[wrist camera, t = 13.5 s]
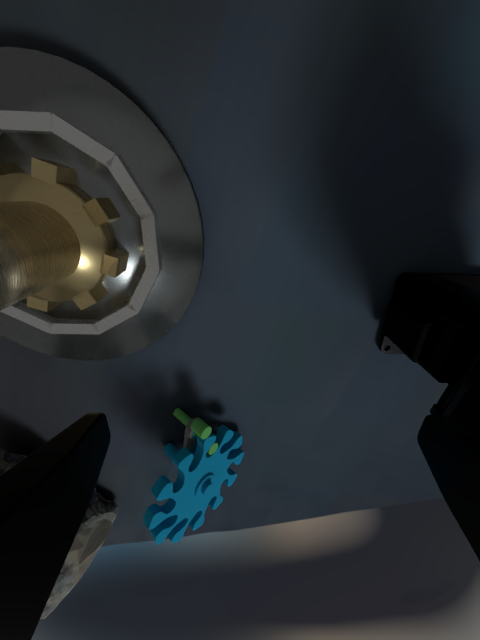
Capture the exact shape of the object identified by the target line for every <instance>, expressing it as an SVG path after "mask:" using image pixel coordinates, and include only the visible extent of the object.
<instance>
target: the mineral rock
mask: <svg viewBox="0 0 480 640" xmlns="http://www.w3.org/2000/svg"><path fill="white" fill-rule="evenodd" d="M26 457H27V456H25V455H19V454H14V453H8V452H7V451H6V450H4V449H1V448H0V475H2V474H3V473H4V472H6V471H7V470H9V469H10V468H12V467H13V466H14V465H16V464H17V463H19V462H20V461H21V460H23V459H24V458H26ZM117 510H118V506H117V504H116V503H115V502H114V501H110V500H108V499H106V498H103V497H102V495H101V494H100V493H98V492H96V488H95V490H94V493H93V496H92V499H91V501H90V504H89V506H88V509H87V511H86V514H85V516H84V518H83V521H82V523H81V525H80V528H79V530H78V532H77V535H76V537H75V539H74V542H73V544H72V546H71V548H70V551H69V553H68V555H67V558H66V560H65V562H64V565H63V567H62V569H61V572H60V574H59V576H58V578H57V581H56V583H55V585H54V588H53V590H52V592H51V595H50V597H49V599H48V602H47V604H46V606H45V608H44V611H43V613H42V615H41V618H40V619H45V618H46V617H47V616H48V615H49V614H50V613H51V612H52V611H53V610H54V609H55V608H56V607H57V605H58V604H59V602H61V600H62V599H63V598H64V597H65V596H66V595H67V594H68V593H69V592H70V591H71V590H72V588H73V587H74V586H75V585H76V583H77V582H78V581H79V580H80V578H81V577H82V576H83V574H84V573H85V571H86V570H87V568H88V567H89V565H90V563H91V562H92V560H93V559H94V557H95V555H96V553H97V552H98V550H99V548H100V547H101V545H102V544H103V542H104V541H105V539H106V538H107V536H108V534H109V532H110V530H111V527H112V523H113V521H114V520H115V518H116V515H117Z"/></svg>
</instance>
